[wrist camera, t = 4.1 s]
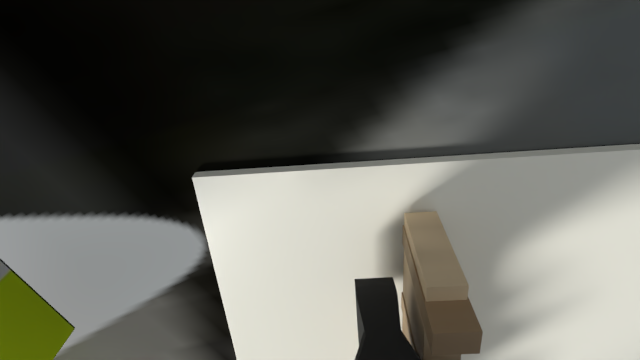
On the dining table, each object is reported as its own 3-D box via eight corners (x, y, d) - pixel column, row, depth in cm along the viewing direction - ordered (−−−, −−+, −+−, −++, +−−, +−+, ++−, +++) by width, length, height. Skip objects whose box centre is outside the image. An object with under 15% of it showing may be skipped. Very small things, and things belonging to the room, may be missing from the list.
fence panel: (428, 367, 16) (459, 494, 12) (400, 368, 16) (422, 495, 12) (438, 211, 13) (484, 317, 9) (402, 213, 13) (434, 318, 9)
